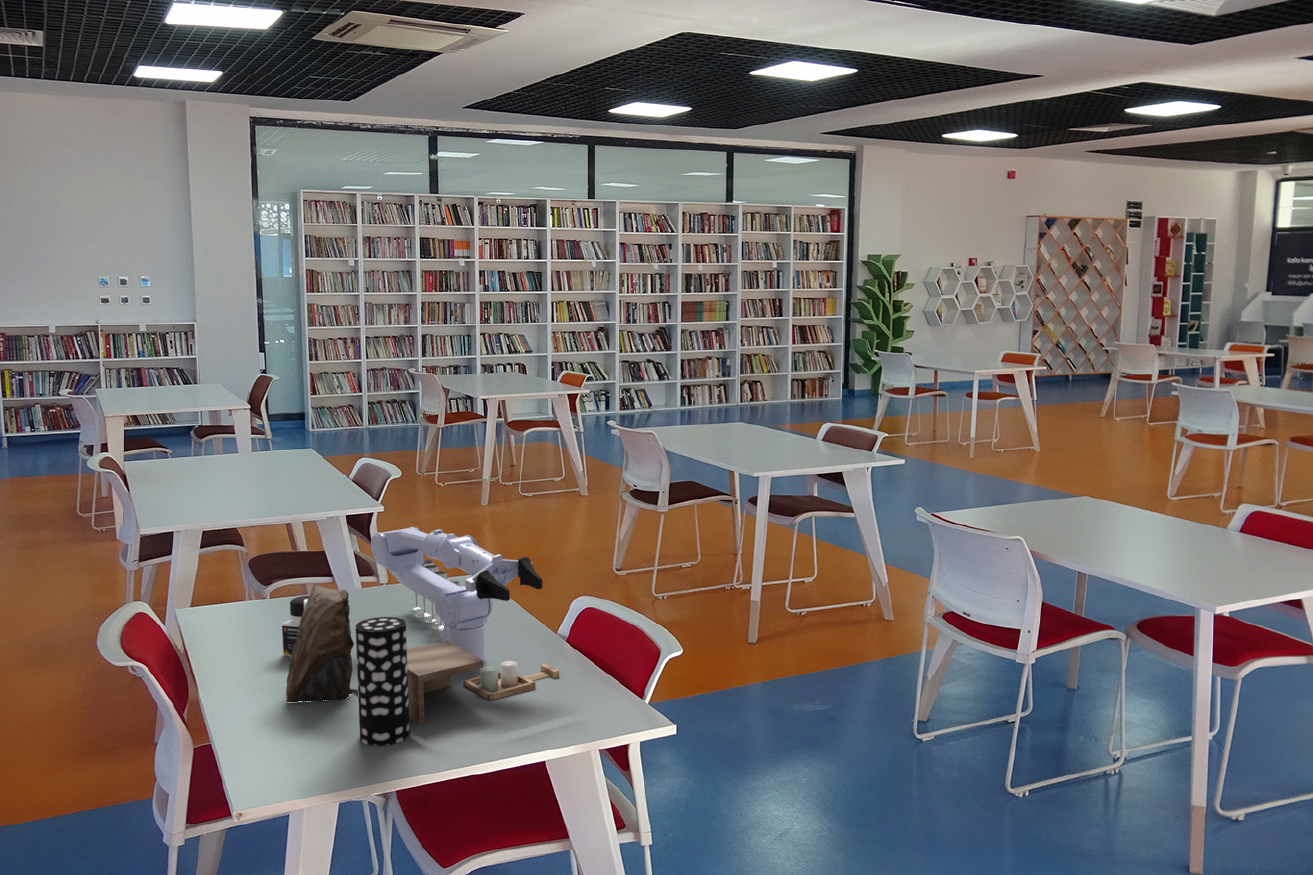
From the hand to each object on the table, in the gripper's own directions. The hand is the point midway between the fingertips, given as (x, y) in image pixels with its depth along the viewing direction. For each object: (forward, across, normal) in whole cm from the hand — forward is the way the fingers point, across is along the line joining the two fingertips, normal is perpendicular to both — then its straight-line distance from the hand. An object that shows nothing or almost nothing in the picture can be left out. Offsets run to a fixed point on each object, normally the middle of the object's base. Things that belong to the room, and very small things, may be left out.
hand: (524, 589), depth 200 cm
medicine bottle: (-48, -23, +26) cm, 59 cm away
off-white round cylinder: (0, -4, +19) cm, 19 cm away
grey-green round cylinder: (-1, -8, +19) cm, 20 cm away
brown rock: (-24, -32, +21) cm, 45 cm away
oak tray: (0, -2, +20) cm, 21 cm away
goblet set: (-48, +8, +29) cm, 57 cm away
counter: (-2, -19, +19) cm, 27 cm away
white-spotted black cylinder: (+3, -32, +17) cm, 36 cm away
